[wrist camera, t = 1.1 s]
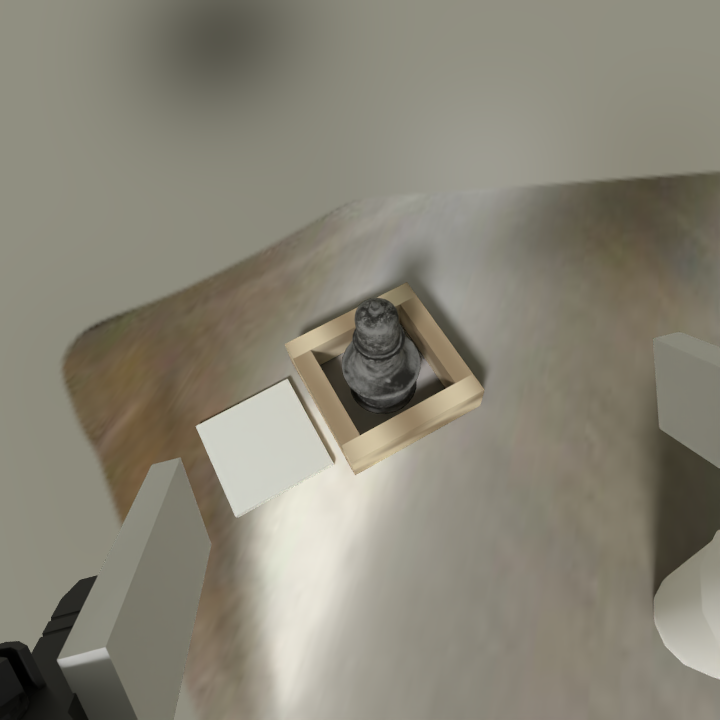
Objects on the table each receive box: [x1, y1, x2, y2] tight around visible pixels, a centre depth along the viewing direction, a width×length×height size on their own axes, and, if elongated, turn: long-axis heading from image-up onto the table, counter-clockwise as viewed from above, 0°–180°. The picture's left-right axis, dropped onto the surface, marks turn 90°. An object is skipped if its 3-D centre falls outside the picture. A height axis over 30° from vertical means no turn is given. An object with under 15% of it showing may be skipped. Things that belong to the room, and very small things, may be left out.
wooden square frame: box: [285, 282, 484, 475], centre depth 46 cm, size 11×11×3 cm
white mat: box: [196, 379, 334, 518], centre depth 45 cm, size 8×8×1 cm
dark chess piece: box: [342, 298, 420, 414], centre depth 42 cm, size 6×6×12 cm
